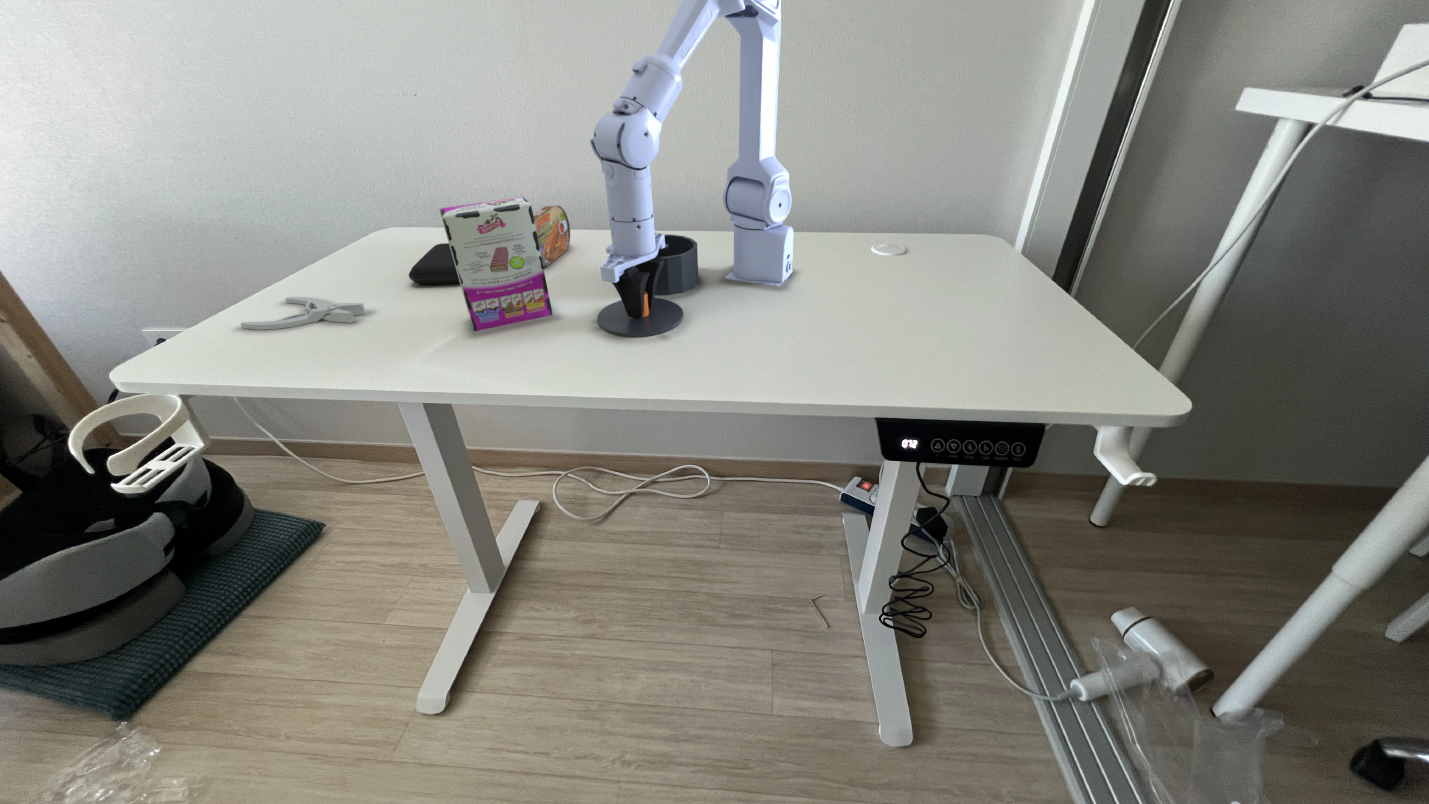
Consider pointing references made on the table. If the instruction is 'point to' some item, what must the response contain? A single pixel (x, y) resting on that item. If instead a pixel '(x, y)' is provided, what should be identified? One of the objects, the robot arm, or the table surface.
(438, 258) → the carrying case
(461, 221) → the candy bar box
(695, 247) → the dark grey pot
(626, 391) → the table surface
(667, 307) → the lid
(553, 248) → the tin
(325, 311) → the pliers
